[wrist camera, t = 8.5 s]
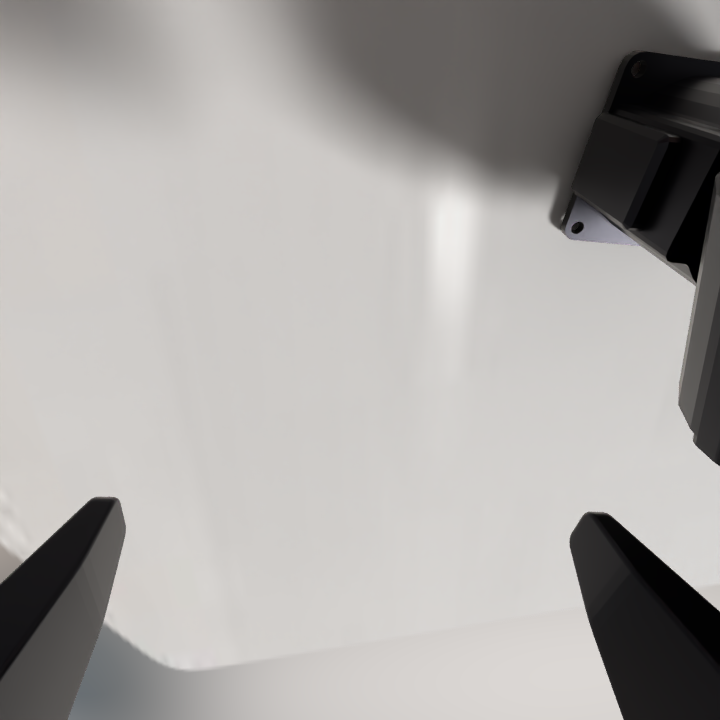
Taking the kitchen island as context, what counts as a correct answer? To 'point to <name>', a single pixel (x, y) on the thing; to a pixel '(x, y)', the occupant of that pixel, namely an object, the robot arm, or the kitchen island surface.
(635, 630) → the robot arm
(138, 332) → the kitchen island surface
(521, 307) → the kitchen island surface
